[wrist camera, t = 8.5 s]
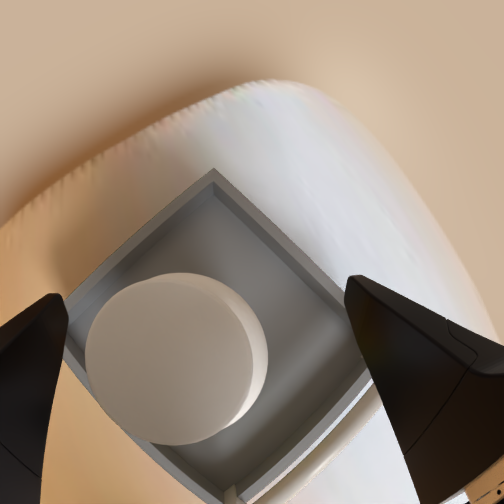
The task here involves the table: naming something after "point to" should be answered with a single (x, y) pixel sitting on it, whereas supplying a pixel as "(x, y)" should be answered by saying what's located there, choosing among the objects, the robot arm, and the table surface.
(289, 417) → the grey toy cart
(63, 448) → the table surface
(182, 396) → the supplement bottle
